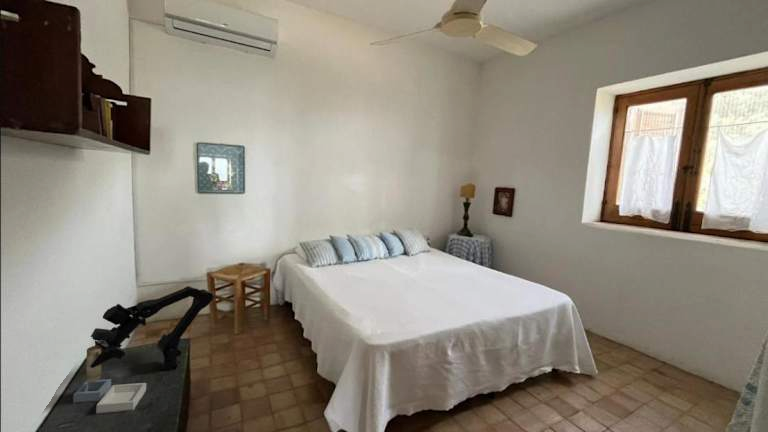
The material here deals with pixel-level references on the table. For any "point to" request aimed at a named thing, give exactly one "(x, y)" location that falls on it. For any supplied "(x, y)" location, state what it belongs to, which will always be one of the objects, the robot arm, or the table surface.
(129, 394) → the tray
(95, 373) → the birch dowel
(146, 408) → the table surface
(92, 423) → the table surface
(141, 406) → the table surface
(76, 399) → the socket block
